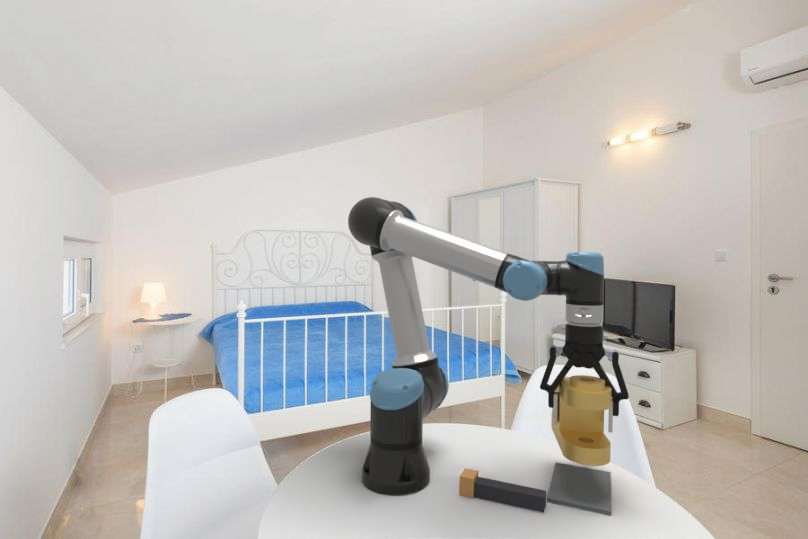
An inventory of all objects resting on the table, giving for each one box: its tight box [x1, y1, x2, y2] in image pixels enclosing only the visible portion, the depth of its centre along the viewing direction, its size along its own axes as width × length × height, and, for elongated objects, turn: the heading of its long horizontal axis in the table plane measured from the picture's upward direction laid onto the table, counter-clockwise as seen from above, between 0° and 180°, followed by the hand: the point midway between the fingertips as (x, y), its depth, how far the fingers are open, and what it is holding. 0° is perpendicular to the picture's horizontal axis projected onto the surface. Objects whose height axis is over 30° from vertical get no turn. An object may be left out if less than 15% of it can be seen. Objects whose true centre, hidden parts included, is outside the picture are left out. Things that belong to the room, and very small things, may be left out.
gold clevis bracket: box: [550, 374, 612, 467], centre depth 100 cm, size 20×9×16 cm, turn 171°
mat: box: [546, 461, 612, 516], centre depth 99 cm, size 12×18×1 cm, turn 156°
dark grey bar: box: [458, 468, 547, 514], centre depth 94 cm, size 17×4×4 cm, turn 66°
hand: (582, 426), depth 99 cm, fingers closed on gold clevis bracket, 10 cm apart
